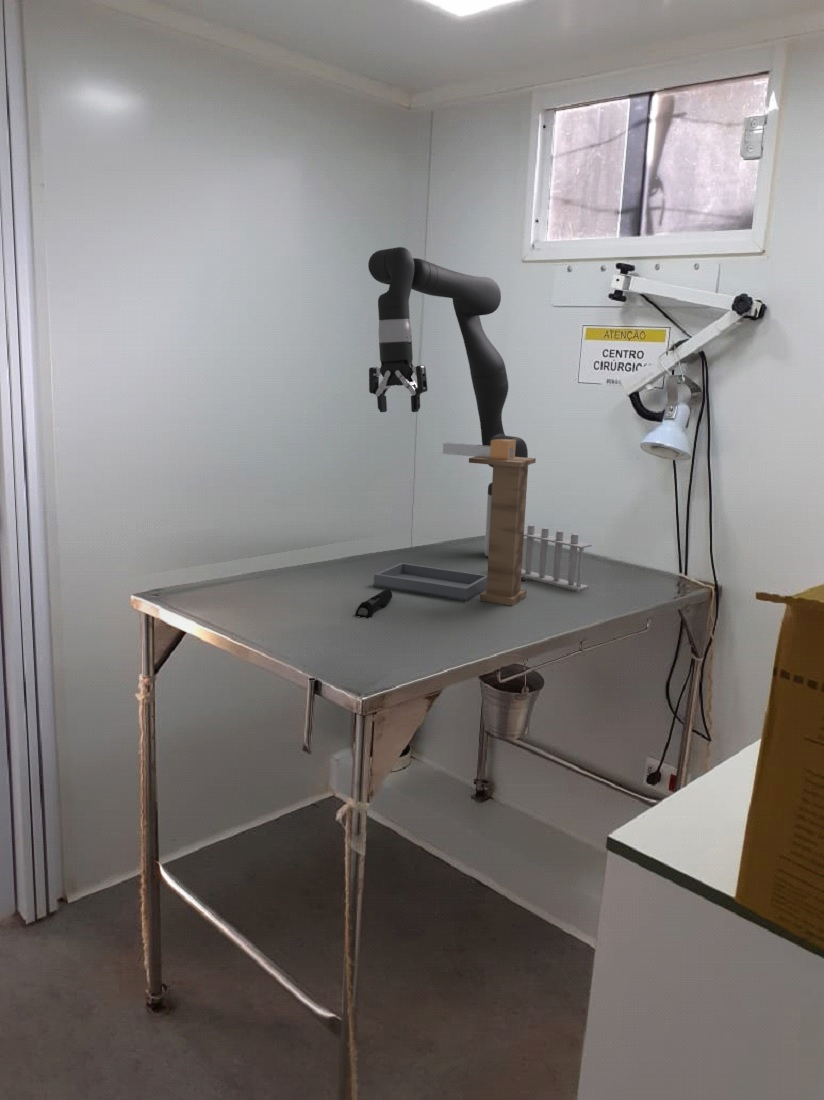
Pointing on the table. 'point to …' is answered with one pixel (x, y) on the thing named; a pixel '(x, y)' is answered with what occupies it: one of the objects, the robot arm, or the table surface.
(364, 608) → the electric trimmer
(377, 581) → the parts tray
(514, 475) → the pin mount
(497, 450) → the lock pin
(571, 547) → the test tube rack
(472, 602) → the table surface
